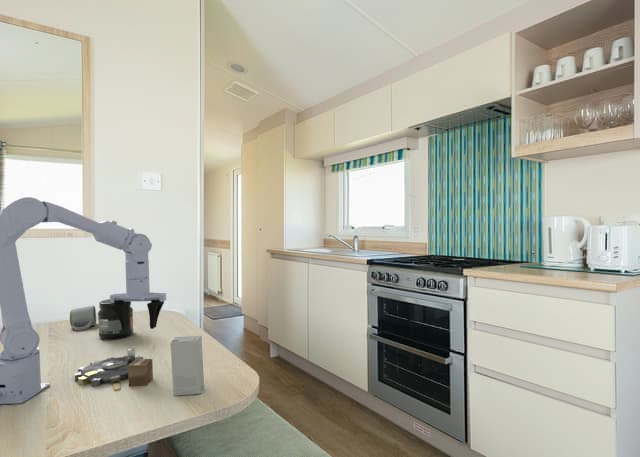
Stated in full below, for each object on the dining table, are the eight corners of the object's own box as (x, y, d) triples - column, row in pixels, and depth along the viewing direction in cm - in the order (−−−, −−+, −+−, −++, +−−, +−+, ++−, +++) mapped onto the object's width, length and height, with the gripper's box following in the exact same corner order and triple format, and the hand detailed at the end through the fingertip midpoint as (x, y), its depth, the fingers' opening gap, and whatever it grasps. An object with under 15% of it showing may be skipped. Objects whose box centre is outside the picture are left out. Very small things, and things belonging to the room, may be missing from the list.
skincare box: (204, 386, 90) (203, 334, 90) (200, 395, 86) (199, 340, 86) (177, 388, 90) (175, 335, 90) (171, 397, 85) (169, 341, 85)
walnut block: (146, 386, 92) (145, 364, 91) (128, 386, 91) (128, 365, 91) (152, 379, 96) (152, 358, 95) (136, 379, 95) (135, 358, 95)
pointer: (120, 389, 90) (120, 388, 90) (114, 390, 89) (114, 389, 89) (118, 384, 93) (118, 382, 93) (113, 385, 92) (113, 384, 92)
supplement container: (134, 330, 140) (133, 296, 139) (132, 338, 130) (131, 302, 130) (101, 333, 136) (100, 299, 135) (96, 342, 126) (94, 305, 126)
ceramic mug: (72, 325, 148) (71, 306, 147) (96, 322, 151) (95, 303, 151) (68, 332, 138) (67, 312, 138) (93, 329, 142) (93, 309, 141)
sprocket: (131, 384, 92) (130, 365, 92) (60, 387, 92) (59, 368, 92) (157, 359, 109) (157, 343, 109) (97, 361, 108) (97, 345, 108)
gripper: (170, 275, 110) (171, 323, 110) (119, 276, 110) (121, 324, 111) (159, 279, 103) (160, 330, 103) (104, 280, 103) (106, 331, 103)
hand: (139, 328), depth 106 cm, fingers open, 7 cm apart
